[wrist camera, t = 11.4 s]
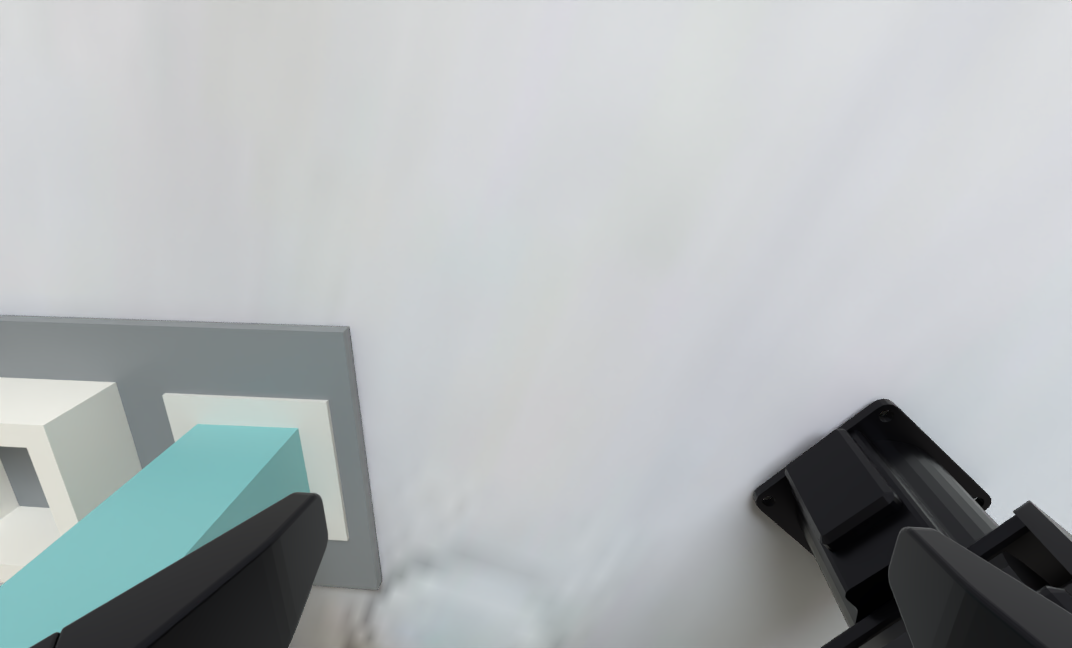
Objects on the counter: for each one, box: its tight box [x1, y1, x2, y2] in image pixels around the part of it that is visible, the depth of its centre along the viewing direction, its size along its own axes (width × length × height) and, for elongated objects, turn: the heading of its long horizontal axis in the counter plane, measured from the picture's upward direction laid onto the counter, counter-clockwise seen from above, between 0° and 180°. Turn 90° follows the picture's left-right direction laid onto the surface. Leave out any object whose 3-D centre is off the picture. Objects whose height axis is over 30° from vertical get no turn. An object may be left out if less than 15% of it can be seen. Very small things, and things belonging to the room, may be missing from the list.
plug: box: [0, 424, 310, 648], centre depth 19 cm, size 4×4×13 cm
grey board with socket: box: [0, 315, 382, 590], centre depth 24 cm, size 19×13×4 cm
